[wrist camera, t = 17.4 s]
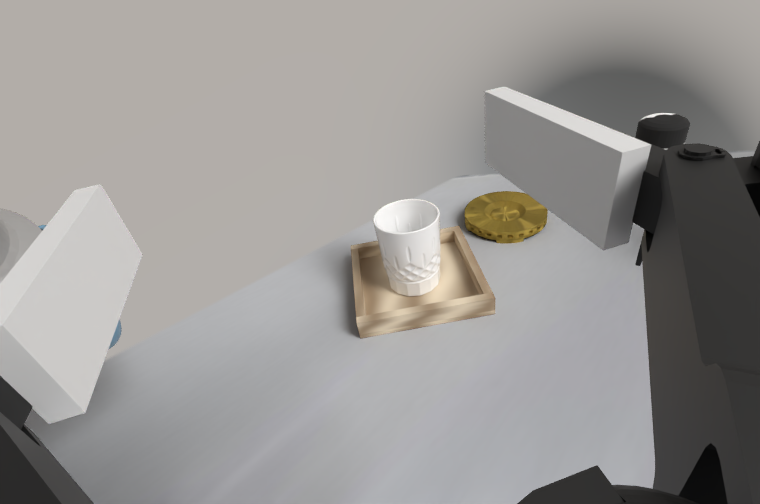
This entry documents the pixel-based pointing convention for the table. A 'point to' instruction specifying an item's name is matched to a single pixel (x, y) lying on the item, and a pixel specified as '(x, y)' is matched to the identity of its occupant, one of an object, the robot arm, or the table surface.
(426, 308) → the tray
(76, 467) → the table surface
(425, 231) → the white cup
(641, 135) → the medicine bottle
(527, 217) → the gold notched disc
